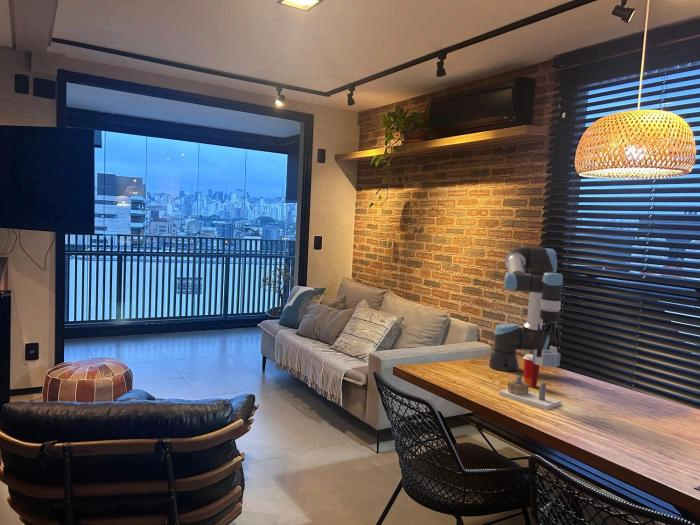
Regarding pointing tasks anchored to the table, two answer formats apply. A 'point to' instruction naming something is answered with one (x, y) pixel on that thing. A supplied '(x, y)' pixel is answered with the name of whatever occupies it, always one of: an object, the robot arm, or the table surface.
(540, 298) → the robot arm
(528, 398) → the gear board
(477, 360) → the table surface
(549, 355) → the gray gear
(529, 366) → the paper cup
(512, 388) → the beech gear
